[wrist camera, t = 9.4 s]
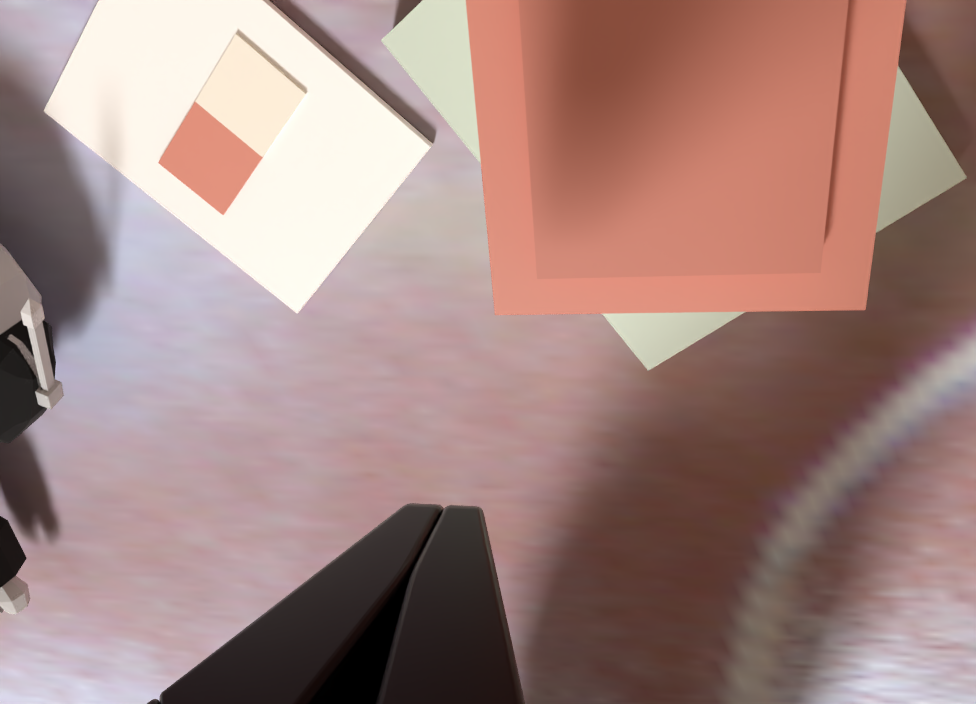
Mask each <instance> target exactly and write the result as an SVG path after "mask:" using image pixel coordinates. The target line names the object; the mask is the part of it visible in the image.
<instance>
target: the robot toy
mask: <svg viewBox="0 0 976 704" xmlns="http://www.w3.org/2000/svg"><path fill="white" fill-rule="evenodd" d="M41 300H42V296H41V294H40V293H39V292H38V290H37V289H36V288H35V286H34V285H33V284H32V282H31V281H30V280H29V278H28V277H27V276H26V274H25V273H24V272H23V270H22V269H21V268H20V266H19V265H18V264H17V262H16V261H15V260H14V258H13V257H12V256H11V254H10V253H9V252H8V250H7V249H6V248H5V247H4V246H3V245H1V244H0V442H3V443H10V442H12V441H13V440H14V439H15V438H16V437H17V436H19V435H20V434H21V433H22V432H23V431H24V430H25V429H27V428H28V427H29V426H30V425H31V424H32V423H33V422H35V421H36V420H37V419H38V418H39V417H40V416H42V414H43V413H44V412H45V411H46V410H47V408H48V409H50V410H51V409H52V408H53V407H54V406H55V405H56V404H57V402H58V401H59V400H60V399H61V398H62V397H63V396H64V394H63V389H62V383H61V382H60V381H57V380H55V365H56V361H55V355H54V350H53V340H52V328H51V326H50V325H49V324H48V323H46V322H45V321H44V319H45V317H44V312H43V307H42V305H41ZM25 560H26V556H25V554H24V552H23V550H22V548H21V546H20V544H19V542H18V540H17V538H16V536H15V534H14V532H13V530H12V528H11V526H10V524H9V522H8V520H6V519H4V518H2V517H1V516H0V613H2V612H3V611H4V610H5V612H7V613H9V614H17V613H19V612H20V611H22V610H23V609H25V608H26V607H27V606H28V603H29V600H30V595H29V590H28V585H27V584H26V583H25V582H24V581H22V580H21V579H19V578H18V577H17V576H16V574H17V573H18V571H19V569H20V568H21V566H22V565H23V563H24V561H25Z"/></svg>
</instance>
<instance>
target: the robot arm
mask: <svg viewBox="0 0 976 704" xmlns="http://www.w3.org/2000/svg"><path fill="white" fill-rule="evenodd" d="M147 704H525V701H524V697H523V692H522V687H521V683H520V678H519V674H518V669H517V664H516V660H515V655H514V651H513V646H512V641H511V637H510V632H509V628H508V623H507V618H506V614H505V609H504V605H503V600H502V596H501V591H500V586H499V582H498V577H497V573H496V568H495V563H494V559H493V554H492V550H491V545H490V540H489V536H488V531H487V527H486V522H485V517H484V513H483V510H482V509H481V508H480V507H477V506H457V505H450V506H447V507H445V508H443V507H442V506H440V505H436V504H416V503H410V504H406V505H405V506H403V507H402V508H400V509H399V510H398V511H396V512H395V513H394V514H393V515H391V516H390V517H389V518H387V519H386V520H385V521H383V522H382V523H381V524H380V525H378V526H377V527H376V528H374V529H373V530H372V531H371V532H369V533H368V534H367V535H365V536H364V537H363V538H361V539H360V540H359V541H358V542H356V543H355V544H354V545H352V546H351V547H350V548H349V549H347V550H346V551H345V552H343V553H342V554H341V555H339V556H338V557H337V558H336V559H334V560H333V561H332V562H330V563H329V564H328V565H326V566H325V567H324V568H323V569H321V570H320V571H319V572H317V573H316V574H315V575H314V576H312V577H311V578H310V579H308V580H307V581H306V582H304V583H303V584H302V585H301V586H299V587H298V588H297V589H295V590H294V591H293V592H292V593H290V594H289V595H288V596H286V597H285V598H284V599H282V600H281V601H280V602H279V603H277V604H276V605H275V606H273V607H272V608H271V609H269V610H268V611H267V612H266V613H264V614H263V615H262V616H260V617H259V618H258V619H257V620H255V621H254V622H253V623H251V624H250V625H249V626H247V627H246V628H245V629H244V630H242V631H241V632H240V633H238V634H237V635H236V636H235V637H233V638H232V639H231V640H229V641H228V642H227V643H225V644H224V645H223V646H222V647H220V648H219V649H218V650H216V651H215V652H214V653H212V654H211V655H210V656H209V657H207V658H206V659H205V660H203V661H202V662H201V663H200V664H198V665H197V666H196V667H194V668H193V669H192V670H190V671H189V672H188V673H187V674H185V675H184V676H183V677H181V678H180V679H179V680H178V681H176V682H175V683H174V684H172V685H171V686H170V687H168V688H167V689H166V690H165V691H163V692H162V693H161V695H160V702H159V700H157V699H153V700H151V701H150V702H149V703H147Z"/></svg>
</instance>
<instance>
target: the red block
mask: <svg viewBox="0 0 976 704" xmlns="http://www.w3.org/2000/svg"><path fill="white" fill-rule="evenodd" d="M905 7H906V0H466V9H467V20H468V31H469V42H470V52H471V63H472V74H473V84H474V95H475V106H476V117H477V127H478V138H479V149H480V159H481V170H482V181H483V192H484V202H485V213H486V224H487V234H488V245H489V256H490V267H491V277H492V288H493V299H494V309H495V315H535V314H610V313H684V312H759V311H834V310H866V303H867V295H868V288H869V280H870V272H871V265H872V257H873V250H874V242H875V234H876V227H877V219H878V212H879V204H880V197H881V189H882V181H883V174H884V166H885V159H886V151H887V143H888V136H889V128H890V121H891V113H892V106H893V98H894V90H895V83H896V75H897V68H898V60H899V52H900V45H901V37H902V30H903V22H904V15H905Z"/></svg>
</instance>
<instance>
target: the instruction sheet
mask: <svg viewBox="0 0 976 704" xmlns="http://www.w3.org/2000/svg"><path fill="white" fill-rule="evenodd" d="M44 112H45V113H46V114H47V115H49V116H50V117H51V118H52V119H54V120H55V121H56V122H57V123H59V124H60V125H61V126H62V127H64V128H65V129H66V130H67V131H69V132H70V133H71V134H72V135H74V136H75V137H76V138H77V139H79V140H80V141H81V142H82V143H84V144H85V145H86V146H88V147H89V148H90V149H91V150H93V151H94V152H95V153H96V154H98V155H99V156H100V157H101V158H103V159H104V160H105V161H106V162H108V163H109V164H110V165H111V166H113V167H114V168H115V169H116V170H118V171H119V172H120V173H121V174H123V175H124V176H125V177H126V178H128V179H129V180H130V181H131V182H133V183H134V184H135V185H136V186H138V187H139V188H140V189H142V190H143V191H144V192H145V193H147V194H148V195H149V196H150V197H152V198H153V199H154V200H155V201H157V202H158V203H159V204H160V205H162V206H163V207H164V208H165V209H167V210H168V211H169V212H170V213H172V214H173V215H174V216H175V217H177V218H178V219H179V220H180V221H182V222H183V223H184V224H185V225H187V226H188V227H189V228H190V229H192V230H193V231H194V232H196V233H197V234H198V235H199V236H201V237H202V238H203V239H204V240H206V241H207V242H208V243H209V244H211V245H212V246H213V247H214V248H216V249H217V250H218V251H219V252H221V253H222V254H223V255H224V256H226V257H227V258H228V259H229V260H231V261H232V262H233V263H234V264H236V265H237V266H238V267H239V268H241V269H242V270H243V271H245V272H246V273H247V274H248V275H250V276H251V277H252V278H253V279H255V280H256V281H257V282H258V283H260V284H261V285H262V286H263V287H265V288H266V289H267V290H268V291H270V292H271V293H272V294H273V295H275V296H276V297H277V298H278V299H280V300H281V301H282V302H283V303H285V304H286V305H287V306H288V307H290V308H291V309H292V310H293V311H295V312H296V313H298V312H299V311H300V310H301V309H302V308H303V307H304V305H305V304H306V303H307V302H308V300H309V299H310V298H311V297H312V295H313V294H314V293H315V292H316V290H317V289H318V288H319V287H320V285H321V284H322V283H323V282H324V280H325V279H326V278H327V277H328V275H329V274H330V273H331V272H332V270H333V269H334V268H335V267H336V265H337V264H338V263H339V262H340V260H341V259H342V258H343V257H344V255H345V254H346V253H347V252H348V250H349V249H350V248H351V247H352V245H353V244H354V243H355V242H356V240H357V239H358V238H359V237H360V235H361V234H362V233H363V232H364V230H365V229H366V228H367V227H368V225H369V224H370V223H371V222H372V220H373V219H374V218H375V217H376V215H377V214H378V213H379V212H380V210H381V209H382V208H383V207H384V205H385V204H386V203H387V202H388V200H389V199H390V198H391V197H392V195H393V194H394V193H395V192H396V190H397V189H398V188H399V187H400V185H401V184H402V183H403V182H404V180H405V179H406V178H407V177H408V175H409V174H410V173H411V172H412V170H413V169H414V168H415V167H416V165H417V164H418V163H419V162H420V160H421V159H422V158H423V157H424V155H425V154H426V153H427V152H428V150H429V149H430V148H431V147H432V145H433V144H432V143H431V142H430V141H429V140H428V139H427V138H425V137H424V136H423V135H422V134H421V133H420V132H419V131H417V130H416V129H415V128H414V127H413V126H412V125H411V124H410V123H408V122H407V121H406V120H405V119H404V118H403V117H402V116H400V115H399V114H398V113H397V112H396V111H395V110H394V109H392V108H391V107H390V106H389V105H388V104H387V103H386V102H384V101H383V100H382V99H381V98H380V97H379V96H378V95H376V94H375V93H374V92H373V91H372V90H371V89H370V88H368V87H367V86H366V85H365V84H364V83H363V82H362V81H361V80H359V79H358V78H357V77H356V76H355V75H354V74H353V73H351V72H350V71H349V70H348V69H347V68H346V67H345V66H343V65H342V64H341V63H340V62H339V61H338V60H337V59H335V58H334V57H333V56H332V55H331V54H330V53H329V52H327V51H326V50H325V49H324V48H323V47H322V46H321V45H319V44H318V43H317V42H316V41H315V40H314V39H313V38H312V37H310V36H309V35H308V34H307V33H306V32H305V31H304V30H302V29H301V28H300V27H299V26H298V25H297V24H296V23H294V22H293V21H292V20H291V19H290V18H289V17H288V16H286V15H285V14H284V13H283V12H282V11H281V10H280V9H278V8H277V7H276V6H275V5H274V4H273V3H272V2H270V1H269V0H99V1H98V3H97V5H96V7H95V9H94V11H93V13H92V15H91V17H90V19H89V21H88V23H87V25H86V27H85V29H84V31H83V33H82V35H81V37H80V39H79V41H78V43H77V45H76V47H75V49H74V51H73V53H72V55H71V57H70V59H69V61H68V63H67V65H66V67H65V69H64V71H63V73H62V75H61V77H60V79H59V81H58V83H57V85H56V87H55V89H54V91H53V93H52V95H51V97H50V99H49V101H48V103H47V105H46V107H45V109H44Z"/></svg>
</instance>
